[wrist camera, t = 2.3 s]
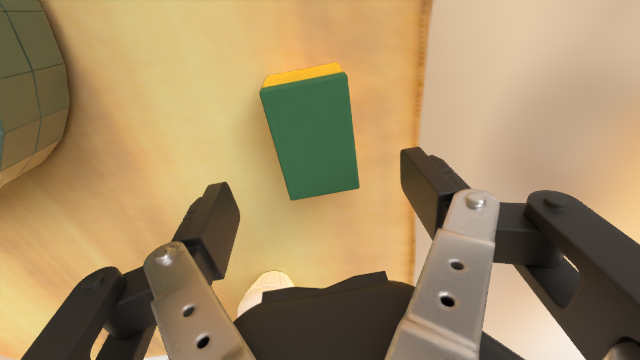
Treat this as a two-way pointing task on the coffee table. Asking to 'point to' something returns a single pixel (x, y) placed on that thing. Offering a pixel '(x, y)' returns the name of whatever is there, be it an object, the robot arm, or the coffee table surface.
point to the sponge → (312, 129)
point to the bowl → (29, 88)
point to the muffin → (263, 289)
